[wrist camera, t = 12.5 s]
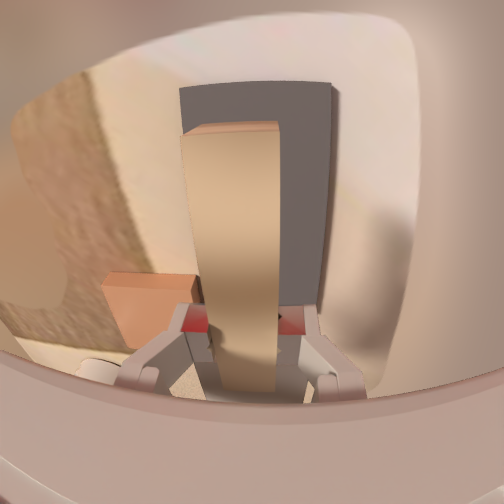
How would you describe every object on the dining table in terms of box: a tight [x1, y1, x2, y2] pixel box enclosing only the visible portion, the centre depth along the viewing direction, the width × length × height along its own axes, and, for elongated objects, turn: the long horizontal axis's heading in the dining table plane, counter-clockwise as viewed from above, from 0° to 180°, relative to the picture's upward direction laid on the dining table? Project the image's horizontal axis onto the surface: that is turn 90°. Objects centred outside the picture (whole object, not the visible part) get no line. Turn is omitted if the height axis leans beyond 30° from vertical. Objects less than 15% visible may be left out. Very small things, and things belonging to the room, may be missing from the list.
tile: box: [101, 272, 201, 349], centre depth 30 cm, size 3×10×10 cm
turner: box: [180, 121, 308, 404], centre depth 12 cm, size 18×6×2 cm, turn 2°
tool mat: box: [179, 81, 331, 305], centre depth 24 cm, size 22×11×1 cm, turn 2°
